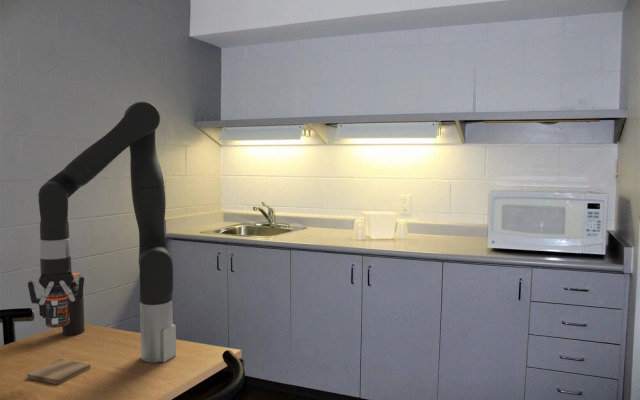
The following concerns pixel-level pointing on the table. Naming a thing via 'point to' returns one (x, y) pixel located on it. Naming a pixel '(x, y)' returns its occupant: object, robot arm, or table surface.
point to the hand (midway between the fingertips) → (57, 315)
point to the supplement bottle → (57, 308)
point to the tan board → (59, 371)
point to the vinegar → (75, 313)
